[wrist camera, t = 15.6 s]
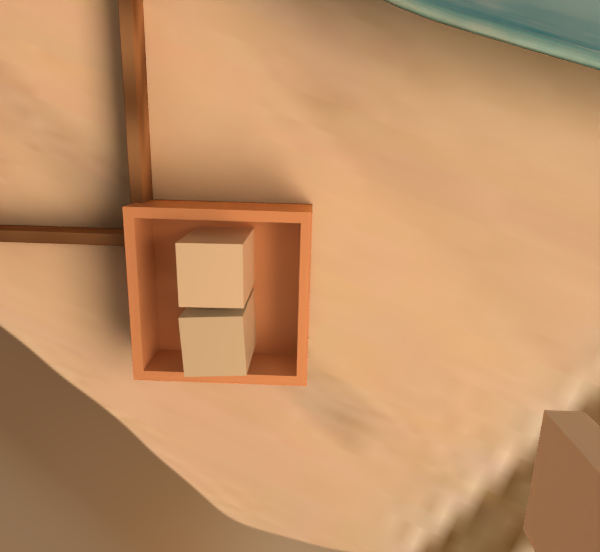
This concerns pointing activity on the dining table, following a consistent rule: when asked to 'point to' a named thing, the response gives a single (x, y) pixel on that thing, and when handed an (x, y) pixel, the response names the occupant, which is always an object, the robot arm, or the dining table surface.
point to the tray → (136, 141)
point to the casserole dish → (523, 23)
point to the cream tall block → (215, 267)
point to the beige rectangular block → (218, 340)
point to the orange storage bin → (267, 288)
